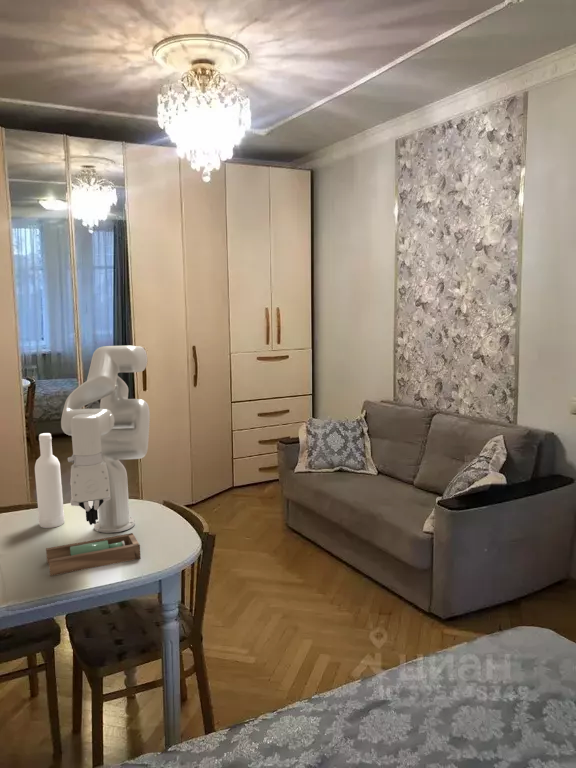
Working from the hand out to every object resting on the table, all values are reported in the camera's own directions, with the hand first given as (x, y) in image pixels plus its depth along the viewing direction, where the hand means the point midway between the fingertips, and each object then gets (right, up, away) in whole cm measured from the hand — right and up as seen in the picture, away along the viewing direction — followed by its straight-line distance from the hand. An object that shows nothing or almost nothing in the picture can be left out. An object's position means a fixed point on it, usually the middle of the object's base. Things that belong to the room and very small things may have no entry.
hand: (92, 522), depth 177 cm
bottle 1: (-23, -7, +30) cm, 39 cm away
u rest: (-1, -11, +1) cm, 11 cm away
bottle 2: (-6, -9, -1) cm, 11 cm away
